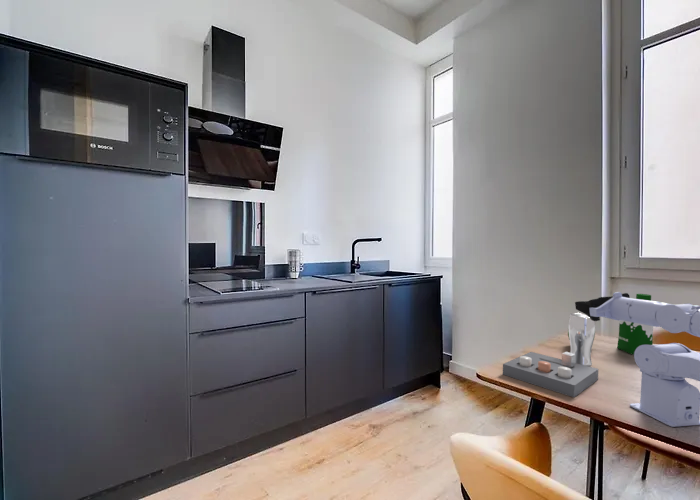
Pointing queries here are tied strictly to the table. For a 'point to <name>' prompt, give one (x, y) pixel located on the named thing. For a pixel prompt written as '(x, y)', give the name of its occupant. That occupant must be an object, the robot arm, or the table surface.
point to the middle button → (544, 366)
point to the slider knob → (568, 359)
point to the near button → (564, 372)
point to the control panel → (552, 374)
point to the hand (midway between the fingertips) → (588, 303)
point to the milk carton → (634, 332)
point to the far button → (525, 361)
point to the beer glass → (581, 337)
